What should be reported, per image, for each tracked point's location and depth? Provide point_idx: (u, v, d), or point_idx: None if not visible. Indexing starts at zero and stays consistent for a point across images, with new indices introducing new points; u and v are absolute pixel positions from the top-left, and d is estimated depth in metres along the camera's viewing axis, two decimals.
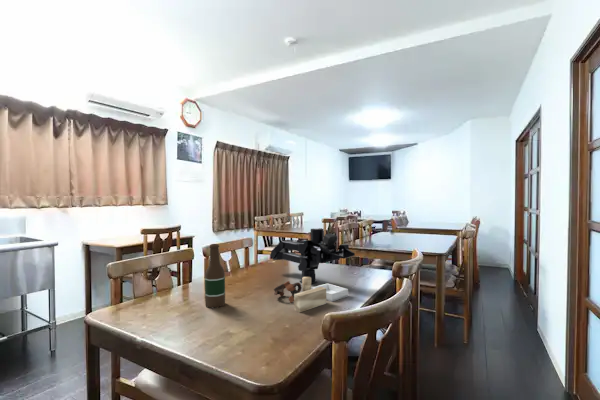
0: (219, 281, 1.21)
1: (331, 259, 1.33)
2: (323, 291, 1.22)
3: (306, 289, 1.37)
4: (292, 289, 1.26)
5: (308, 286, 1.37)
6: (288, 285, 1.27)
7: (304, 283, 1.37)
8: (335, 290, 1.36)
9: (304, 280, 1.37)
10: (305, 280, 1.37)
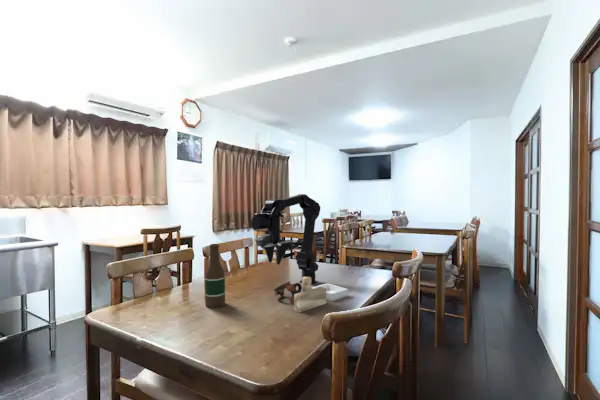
0: (219, 281, 1.21)
1: None
2: (323, 291, 1.22)
3: (306, 289, 1.37)
4: (292, 289, 1.26)
5: (308, 286, 1.37)
6: (288, 285, 1.27)
7: (304, 283, 1.37)
8: (335, 290, 1.36)
9: (304, 280, 1.37)
10: (305, 280, 1.37)
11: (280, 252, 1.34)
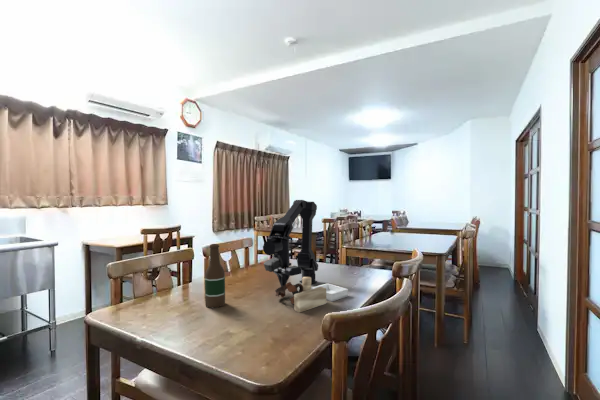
0: (219, 281, 1.21)
1: None
2: (323, 291, 1.22)
3: (306, 289, 1.37)
4: (294, 290, 1.25)
5: (308, 286, 1.37)
6: (290, 286, 1.25)
7: (304, 283, 1.37)
8: (335, 290, 1.36)
9: (304, 280, 1.37)
10: (305, 280, 1.37)
11: (285, 275, 1.32)
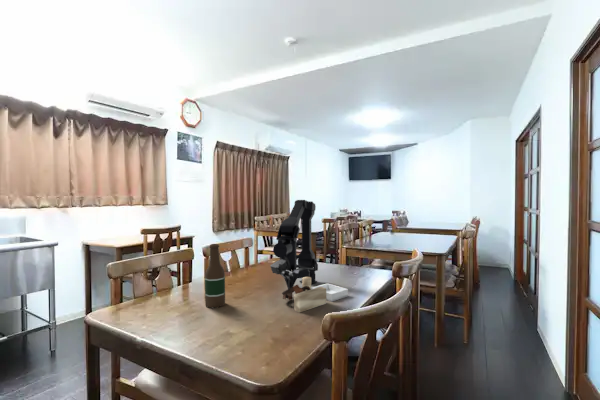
0: (219, 281, 1.21)
1: None
2: (323, 291, 1.22)
3: None
4: None
5: None
6: (297, 289, 1.22)
7: (304, 283, 1.37)
8: (335, 290, 1.36)
9: (304, 280, 1.37)
10: (305, 280, 1.37)
11: (292, 278, 1.28)
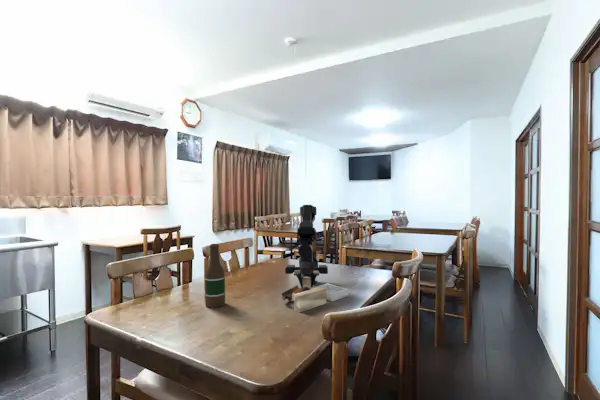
0: (219, 281, 1.21)
1: None
2: (323, 291, 1.22)
3: None
4: None
5: (308, 286, 1.37)
6: (297, 289, 1.21)
7: (304, 283, 1.37)
8: (335, 290, 1.36)
9: (304, 280, 1.37)
10: (305, 280, 1.37)
11: None
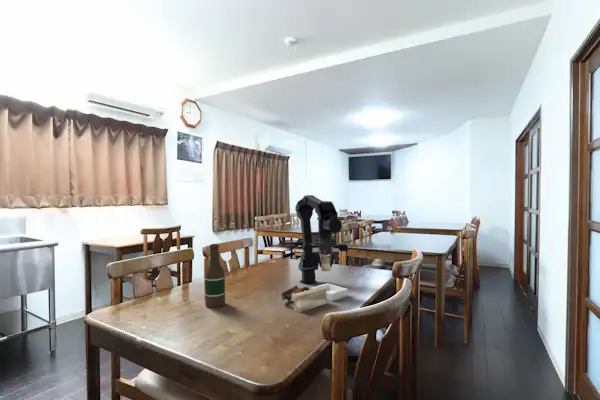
0: (219, 281, 1.21)
1: None
2: (323, 291, 1.22)
3: (325, 268, 1.31)
4: None
5: (327, 265, 1.31)
6: (296, 290, 1.21)
7: (323, 261, 1.31)
8: (335, 290, 1.36)
9: (323, 258, 1.31)
10: (324, 258, 1.31)
11: None
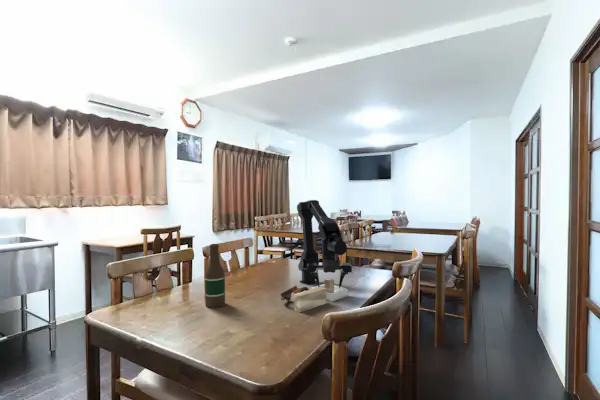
0: (219, 281, 1.21)
1: None
2: (323, 291, 1.22)
3: (329, 292, 1.31)
4: None
5: (331, 289, 1.31)
6: (296, 290, 1.21)
7: (327, 285, 1.31)
8: (335, 290, 1.36)
9: (327, 282, 1.31)
10: (328, 282, 1.31)
11: None
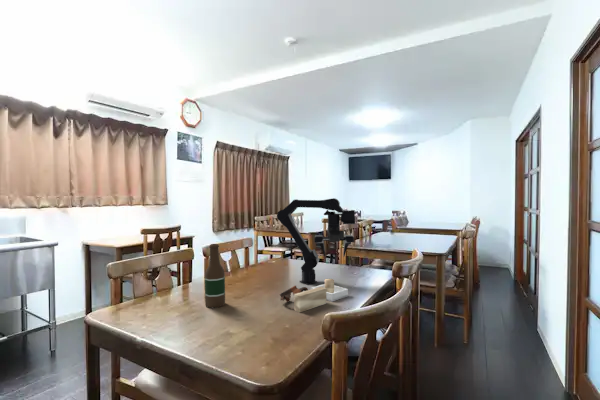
0: (219, 281, 1.21)
1: None
2: (323, 291, 1.22)
3: (329, 292, 1.31)
4: None
5: (331, 289, 1.31)
6: (295, 290, 1.20)
7: (327, 285, 1.31)
8: (335, 290, 1.36)
9: (327, 282, 1.31)
10: (328, 282, 1.31)
11: None
